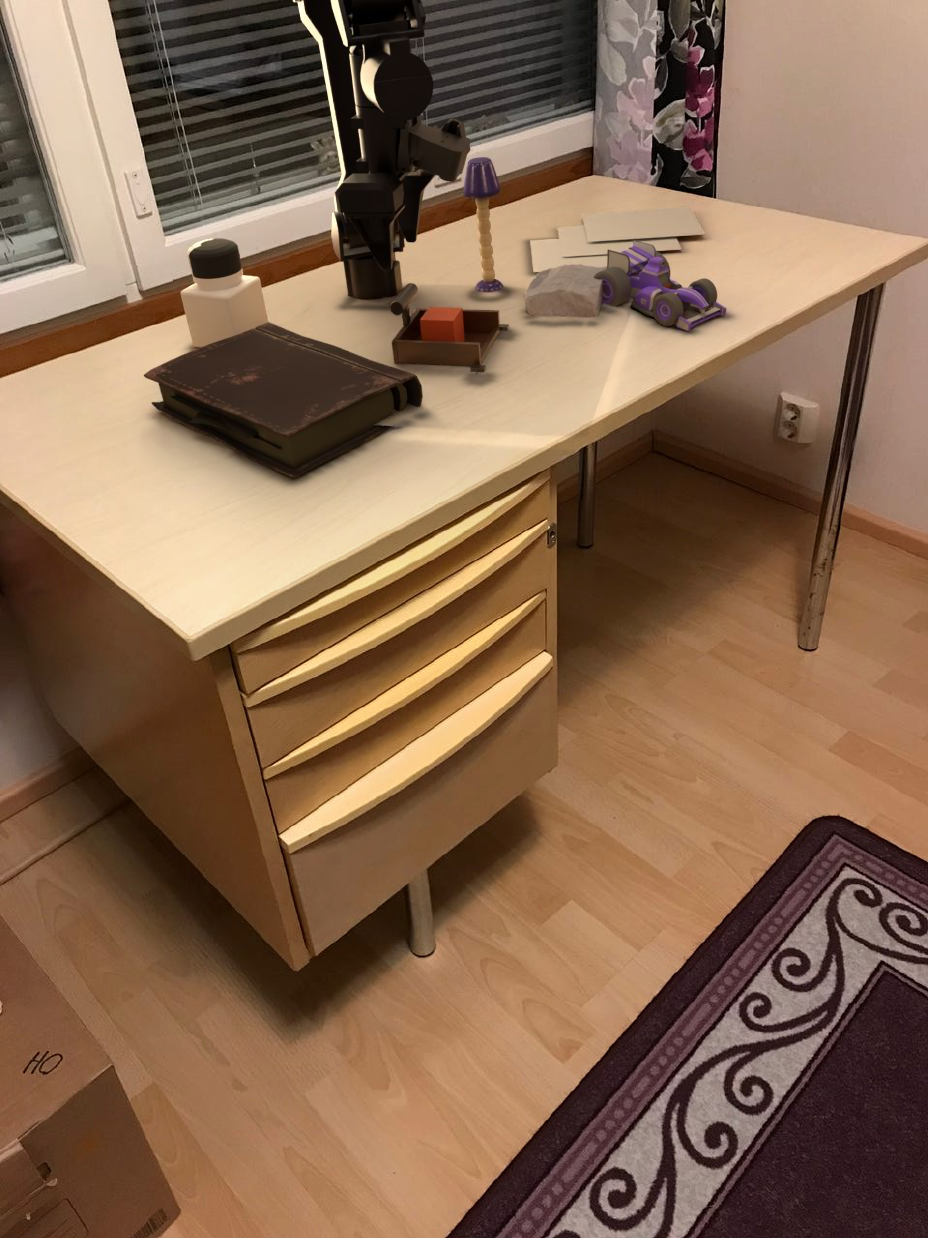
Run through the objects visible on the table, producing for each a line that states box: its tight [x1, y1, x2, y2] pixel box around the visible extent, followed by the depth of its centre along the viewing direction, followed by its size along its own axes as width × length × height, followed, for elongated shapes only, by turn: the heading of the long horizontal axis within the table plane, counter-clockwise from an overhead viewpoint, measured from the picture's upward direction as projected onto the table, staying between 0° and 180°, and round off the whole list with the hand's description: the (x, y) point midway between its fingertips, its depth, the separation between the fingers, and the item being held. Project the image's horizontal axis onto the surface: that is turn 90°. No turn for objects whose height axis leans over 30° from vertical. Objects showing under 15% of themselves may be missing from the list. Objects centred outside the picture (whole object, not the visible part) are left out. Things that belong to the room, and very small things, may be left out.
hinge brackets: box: [469, 323, 510, 375], centre depth 116 cm, size 2×14×1 cm, turn 166°
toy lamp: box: [462, 156, 505, 293], centre depth 128 cm, size 5×5×17 cm
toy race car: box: [594, 240, 727, 332], centre depth 123 cm, size 10×15×6 cm, turn 39°
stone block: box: [524, 264, 607, 318], centre depth 126 cm, size 12×5×10 cm
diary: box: [143, 321, 424, 479], centre depth 107 cm, size 19×25×5 cm
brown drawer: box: [389, 282, 501, 368], centre depth 116 cm, size 11×10×7 cm
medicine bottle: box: [180, 237, 269, 348], centre depth 123 cm, size 7×7×12 cm
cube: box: [420, 306, 465, 342], centre depth 116 cm, size 4×4×4 cm
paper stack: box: [529, 205, 706, 273], centre depth 146 cm, size 23×25×1 cm
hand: (399, 255), depth 112 cm, fingers open, 9 cm apart
